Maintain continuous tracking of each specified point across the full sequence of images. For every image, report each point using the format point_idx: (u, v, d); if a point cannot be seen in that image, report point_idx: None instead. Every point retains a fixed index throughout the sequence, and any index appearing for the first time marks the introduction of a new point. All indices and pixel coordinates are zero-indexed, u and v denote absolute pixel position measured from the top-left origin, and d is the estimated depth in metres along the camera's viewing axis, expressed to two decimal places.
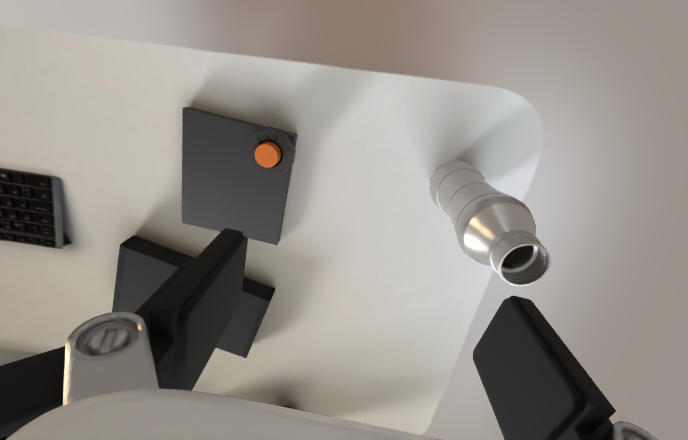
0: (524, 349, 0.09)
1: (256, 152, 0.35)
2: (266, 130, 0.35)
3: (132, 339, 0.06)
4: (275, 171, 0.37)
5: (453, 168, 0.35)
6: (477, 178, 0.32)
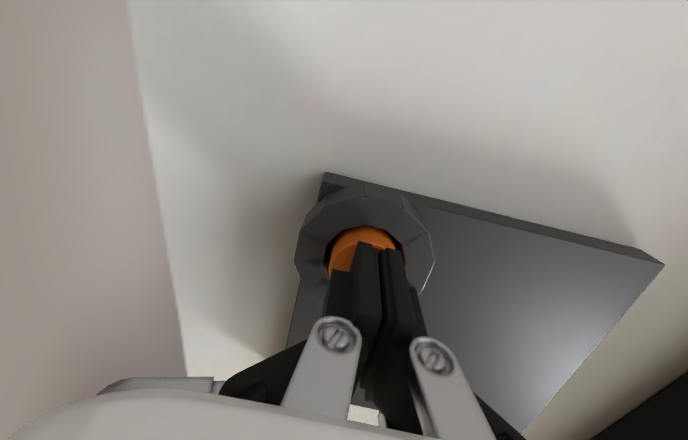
0: None
1: None
2: (297, 260, 0.13)
3: (350, 338, 0.07)
4: (418, 251, 0.12)
5: None
6: None
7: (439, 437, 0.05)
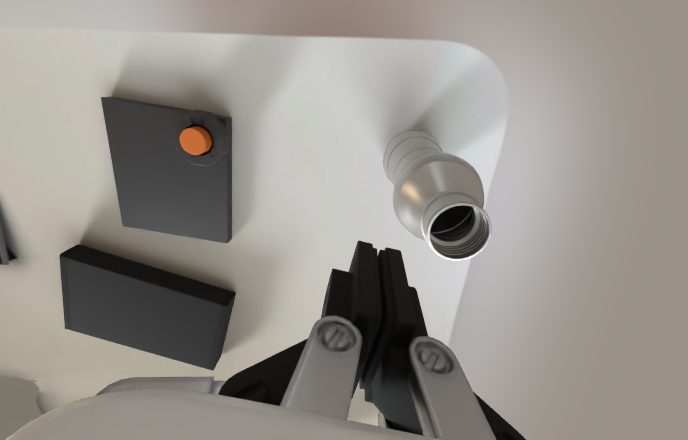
0: None
1: (181, 138, 0.31)
2: (190, 113, 0.32)
3: (350, 338, 0.07)
4: (208, 159, 0.33)
5: (402, 137, 0.30)
6: (425, 144, 0.27)
7: (439, 437, 0.05)
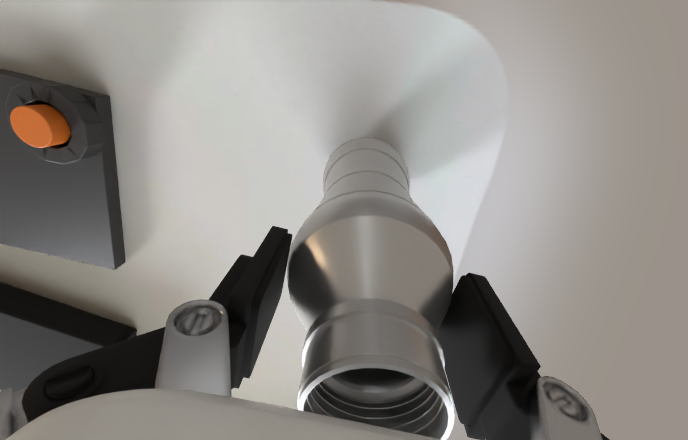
0: (473, 319, 0.09)
1: (12, 121, 0.21)
2: (30, 83, 0.21)
3: (217, 323, 0.07)
4: (66, 155, 0.23)
5: (348, 147, 0.20)
6: (375, 163, 0.17)
7: None
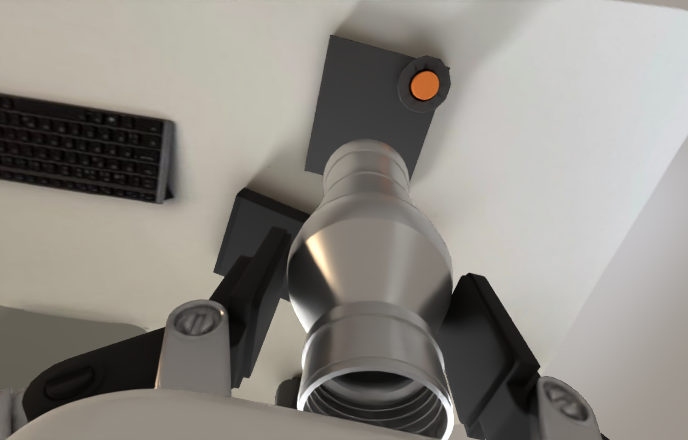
0: (473, 319, 0.09)
1: (416, 81, 0.32)
2: (426, 57, 0.32)
3: (216, 323, 0.07)
4: (427, 106, 0.34)
5: (348, 148, 0.20)
6: (375, 164, 0.17)
7: None
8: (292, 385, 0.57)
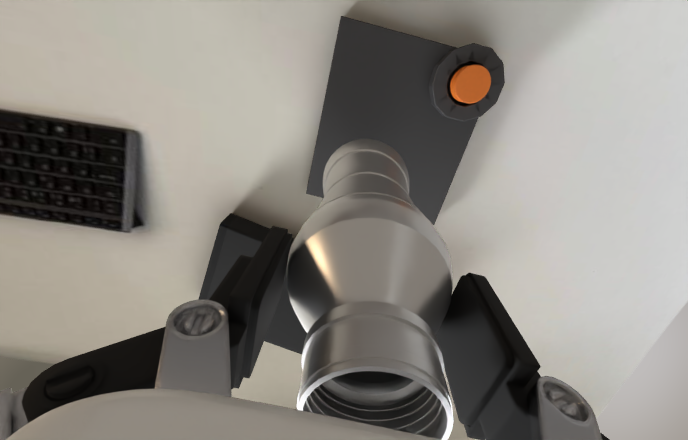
0: (473, 319, 0.09)
1: (459, 78, 0.23)
2: (474, 45, 0.24)
3: (216, 323, 0.07)
4: (470, 112, 0.26)
5: (348, 149, 0.20)
6: (375, 165, 0.17)
7: None
8: None
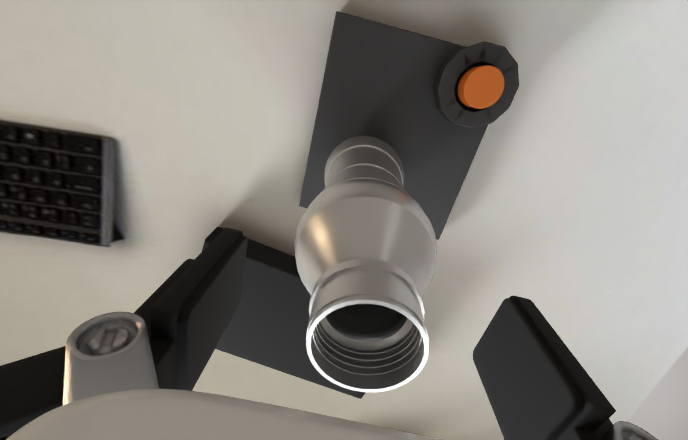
0: (524, 349, 0.09)
1: (469, 81, 0.21)
2: (485, 44, 0.21)
3: (132, 339, 0.06)
4: (480, 118, 0.23)
5: (347, 144, 0.22)
6: (372, 158, 0.19)
7: None
8: None
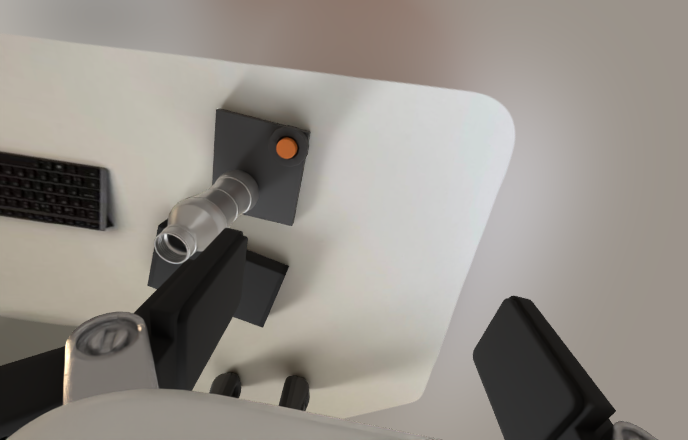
0: (524, 349, 0.09)
1: (277, 146, 0.43)
2: (286, 128, 0.43)
3: (132, 339, 0.06)
4: (292, 162, 0.45)
5: (221, 176, 0.44)
6: (223, 185, 0.41)
7: None
8: (225, 378, 0.68)
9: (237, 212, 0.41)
